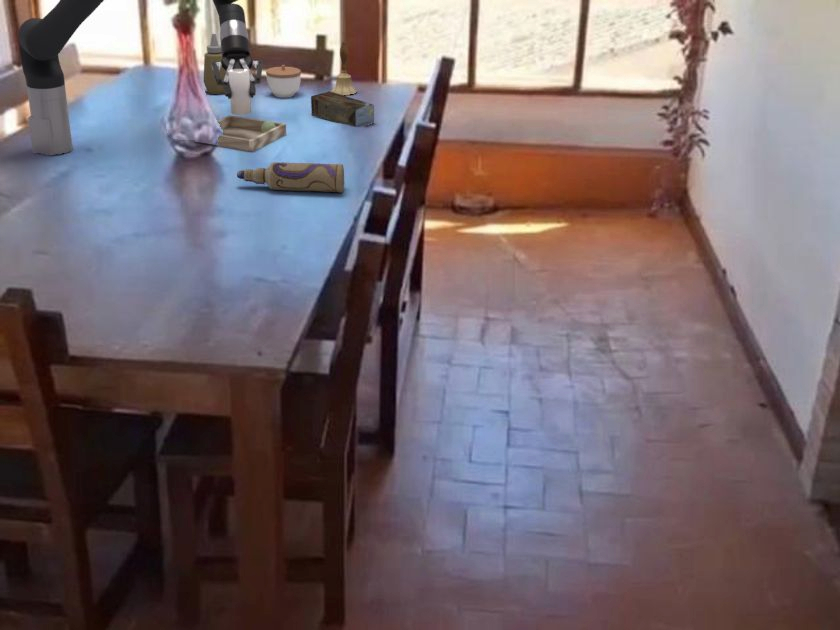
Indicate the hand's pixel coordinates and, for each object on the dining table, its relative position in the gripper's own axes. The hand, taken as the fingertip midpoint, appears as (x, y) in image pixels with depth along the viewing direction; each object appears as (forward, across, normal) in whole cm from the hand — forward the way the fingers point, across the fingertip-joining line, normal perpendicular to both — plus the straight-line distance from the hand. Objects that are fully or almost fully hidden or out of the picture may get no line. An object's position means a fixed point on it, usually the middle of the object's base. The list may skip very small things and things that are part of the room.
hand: (240, 96), depth 282 cm
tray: (+8, 0, -10) cm, 13 cm away
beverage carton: (-3, -30, -22) cm, 38 cm away
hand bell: (-25, -36, -43) cm, 62 cm away
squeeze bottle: (-29, +4, -47) cm, 55 cm away
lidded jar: (-24, -17, -43) cm, 52 cm away
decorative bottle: (+36, -9, +18) cm, 42 cm away
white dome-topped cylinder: (+2, 0, -5) cm, 5 cm away
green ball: (+6, -7, -10) cm, 14 cm away
